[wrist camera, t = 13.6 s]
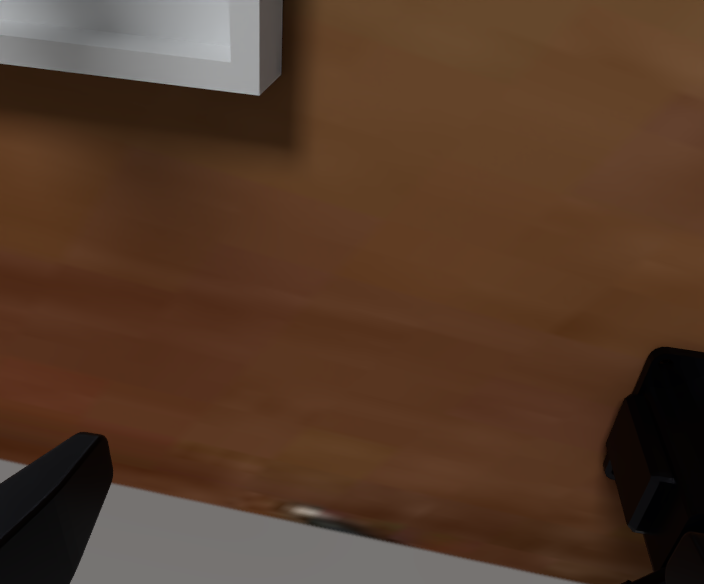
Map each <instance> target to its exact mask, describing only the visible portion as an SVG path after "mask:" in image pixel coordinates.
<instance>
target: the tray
mask: <svg viewBox="0 0 704 584" xmlns="http://www.w3.org/2000/svg"><path fill="white" fill-rule="evenodd" d="M282 13H283V0H0V64H8V65H16V66H24V67H32V68H40V69H48V70H56V71H64V72H72V73H80V74H89V75H97V76H105V77H113V78H121V79H129V80H137V81H145V82H153V83H161V84H169V85H177V86H186V87H194V88H202V89H210V90H218V91H226V92H234V93H242V94H250V95H258V96H260V95H261V94H262V93H263V92H264V91H265V90H266V89H267V88H268V87H269V86H270V85H271V84H272V83H273V82H274V81H275V80H276V79H277V78H278V77H279V76H280V75H281V68H282Z"/></svg>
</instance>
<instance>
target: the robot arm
mask: <svg viewBox="0 0 704 584" xmlns="http://www.w3.org/2000/svg"><path fill="white" fill-rule="evenodd" d="M664 359H669V361H668V362H666V363H663V364H660V363H659V362H660V361H662V360H664ZM606 446H607V450H608V453H607V455H606V458H605V460H604V463H603V467H604V471H605V474H606V476H607V477H608V478H610V479H613V480H615V481H616V484H617V488H618V492H619V496H620V500H621V504H622V507H623V511H624V515H625V519H626V523H627V525H628V526H629V528H630V529H631V530H632V532H636V533H642V534H643V536H644V540H645V543H646V547H647V550H648V554H649V557H650V561H651V564H652V568H653V573H650V574H648V575H646V576H644V577H642V578H640V579H638V580H635V581H633V582H631V581H630V580H628V581H626V582H623V583H621V584H704V352H698V351H691V350H684V349H678V348H671V347H660V348H657V349H655V350H653V351H652V352H651V353H650V355H649V356H648V358H647V361H646V363H645V365H644V368H643V370H642V372H641V375H640V377H639V380H638V382H637V384H636V387H635V389H634V391H633V394H630V395H629V396H627V397H626V398H625V399H624V401H623V404H622V406H621V409H620V411H619V413H618V416H617V418H616V421H615V423H614V425H613V428H612V430H611V433H610V435H609V437H608V440H607V442H606ZM112 478H113V466H112V461H111V456H110V450H109V445H108V441H107V439H106V437H105V436H104V435H100V434H94V433H88V432H80V433H77V434H75V435H73V436H72V437H70V438H69V439H67V440H66V441H64V442H63V443H61V444H60V445H58V446H57V447H55V448H54V449H52V450H51V451H49V452H48V453H46V454H45V455H43V456H41V457H40V458H38V459H37V460H35V461H34V462H32V463H31V464H29V465H28V466H26V467H25V468H23V469H22V470H20V471H19V472H17V473H16V474H14V475H13V476H11V477H10V478H8V479H7V480H5V481H4V482H2V483H0V584H70V582H71V580H72V578H73V576H74V574H75V572H76V569H77V567H78V565H79V562H80V560H81V557H82V555H83V553H84V550H85V548H86V545H87V543H88V540H89V538H90V535H91V533H92V530H93V528H94V525H95V523H96V520H97V518H98V515H99V513H100V510H101V508H102V505H103V503H104V500H105V498H106V495H107V493H108V490H109V488H110V485H111V482H112Z"/></svg>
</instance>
